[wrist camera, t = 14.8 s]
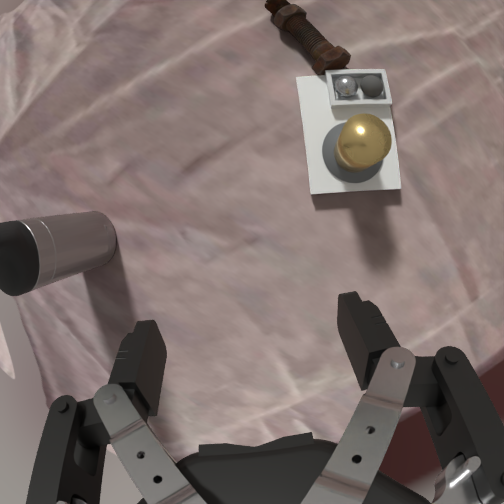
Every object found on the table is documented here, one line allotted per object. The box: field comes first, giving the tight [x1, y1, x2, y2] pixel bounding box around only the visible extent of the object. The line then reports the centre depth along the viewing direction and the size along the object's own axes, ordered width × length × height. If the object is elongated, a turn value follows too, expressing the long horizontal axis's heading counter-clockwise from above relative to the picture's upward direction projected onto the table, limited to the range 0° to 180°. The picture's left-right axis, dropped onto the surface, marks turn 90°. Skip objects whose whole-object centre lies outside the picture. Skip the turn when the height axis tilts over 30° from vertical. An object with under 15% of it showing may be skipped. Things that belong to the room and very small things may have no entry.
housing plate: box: [296, 69, 401, 194], centre depth 36 cm, size 12×16×4 cm
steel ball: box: [335, 76, 358, 98], centre depth 34 cm, size 3×3×3 cm
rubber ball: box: [360, 75, 383, 97], centre depth 33 cm, size 3×3×3 cm
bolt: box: [265, 0, 351, 75], centre depth 35 cm, size 6×5×15 cm
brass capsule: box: [334, 113, 392, 173], centre depth 32 cm, size 5×5×10 cm
